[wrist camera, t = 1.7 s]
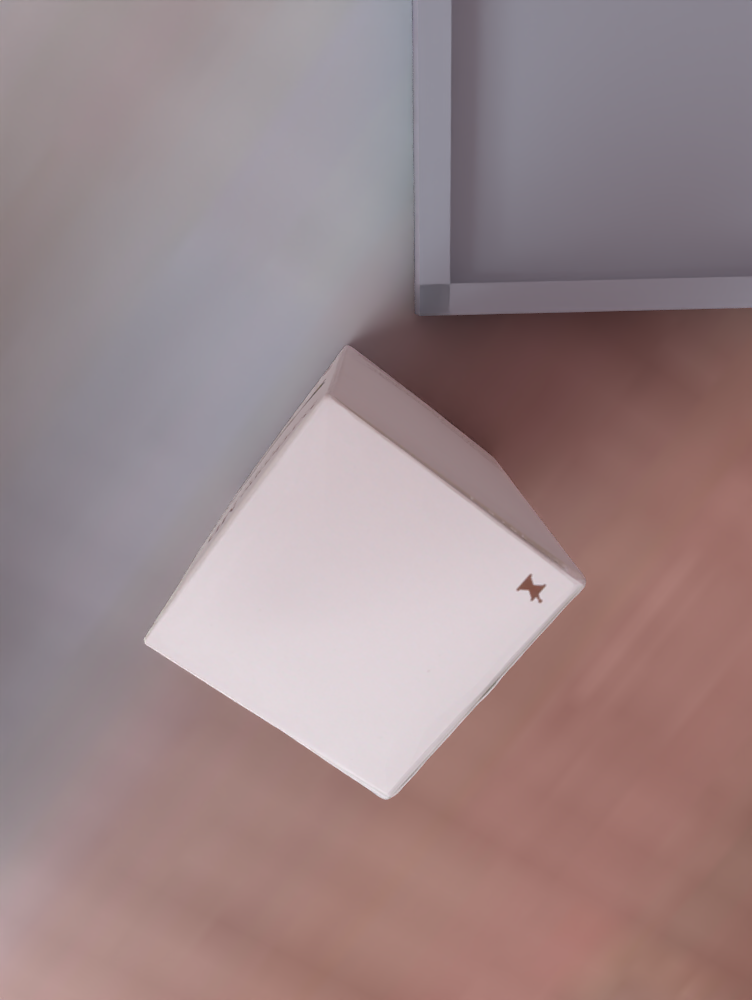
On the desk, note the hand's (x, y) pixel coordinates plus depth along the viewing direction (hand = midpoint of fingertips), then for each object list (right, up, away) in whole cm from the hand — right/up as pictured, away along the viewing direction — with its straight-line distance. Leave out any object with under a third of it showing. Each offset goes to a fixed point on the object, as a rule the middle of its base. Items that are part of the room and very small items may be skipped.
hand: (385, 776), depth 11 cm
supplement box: (-1, +5, +18) cm, 18 cm away
